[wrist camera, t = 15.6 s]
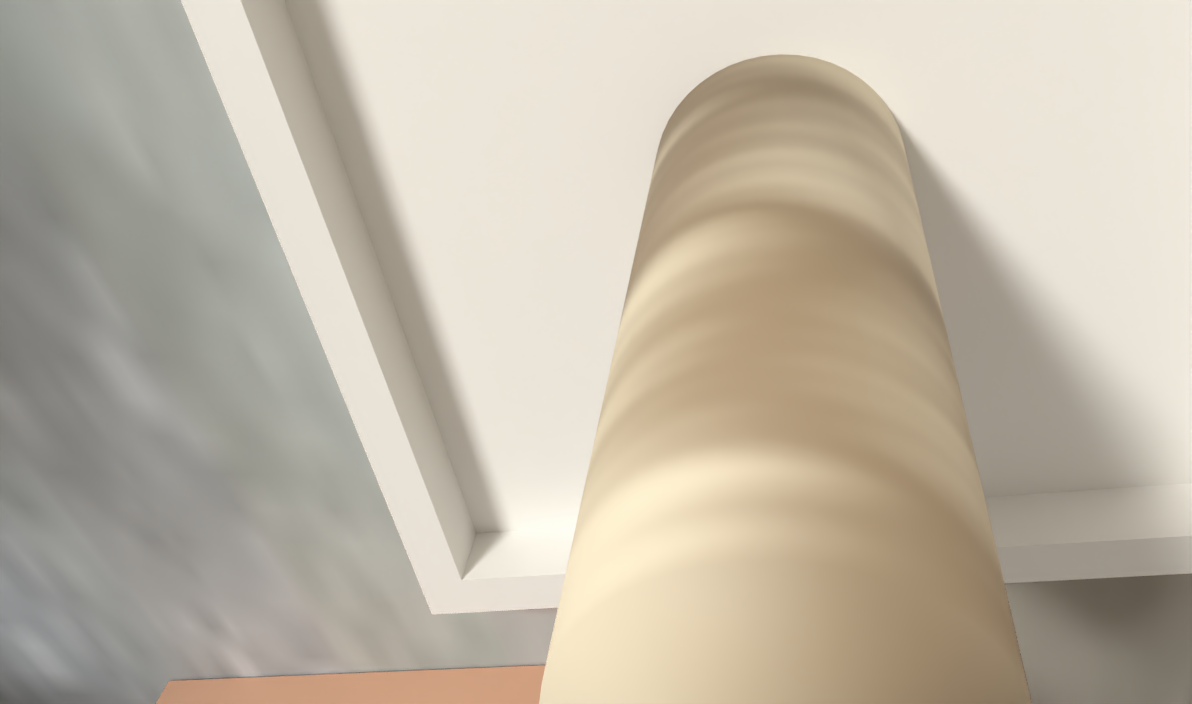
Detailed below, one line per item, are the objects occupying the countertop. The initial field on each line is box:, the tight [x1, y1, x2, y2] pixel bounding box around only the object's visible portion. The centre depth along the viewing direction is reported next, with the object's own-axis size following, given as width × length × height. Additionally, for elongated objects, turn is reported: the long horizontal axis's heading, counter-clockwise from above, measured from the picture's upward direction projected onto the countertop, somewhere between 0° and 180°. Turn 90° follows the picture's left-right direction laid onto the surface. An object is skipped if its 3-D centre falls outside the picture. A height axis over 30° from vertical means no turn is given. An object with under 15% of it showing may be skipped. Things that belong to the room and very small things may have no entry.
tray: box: [181, 0, 1192, 614], centre depth 20 cm, size 18×18×2 cm
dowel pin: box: [539, 54, 1032, 704], centre depth 15 cm, size 4×4×12 cm
